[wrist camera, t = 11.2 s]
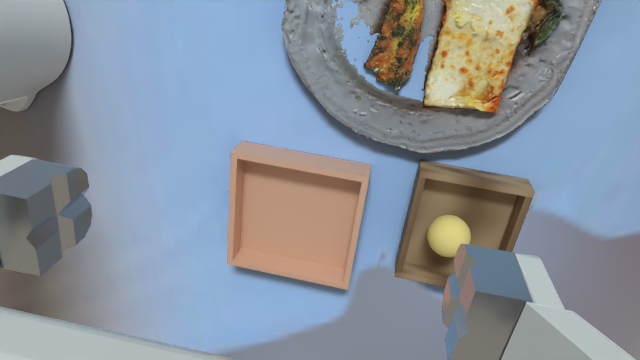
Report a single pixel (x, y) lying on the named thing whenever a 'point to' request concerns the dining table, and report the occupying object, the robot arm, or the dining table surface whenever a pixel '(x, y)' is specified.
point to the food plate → (439, 65)
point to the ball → (448, 235)
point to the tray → (466, 203)
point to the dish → (295, 213)
